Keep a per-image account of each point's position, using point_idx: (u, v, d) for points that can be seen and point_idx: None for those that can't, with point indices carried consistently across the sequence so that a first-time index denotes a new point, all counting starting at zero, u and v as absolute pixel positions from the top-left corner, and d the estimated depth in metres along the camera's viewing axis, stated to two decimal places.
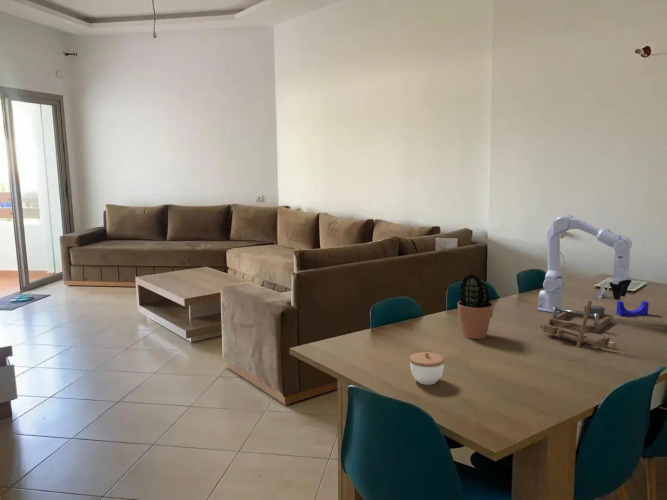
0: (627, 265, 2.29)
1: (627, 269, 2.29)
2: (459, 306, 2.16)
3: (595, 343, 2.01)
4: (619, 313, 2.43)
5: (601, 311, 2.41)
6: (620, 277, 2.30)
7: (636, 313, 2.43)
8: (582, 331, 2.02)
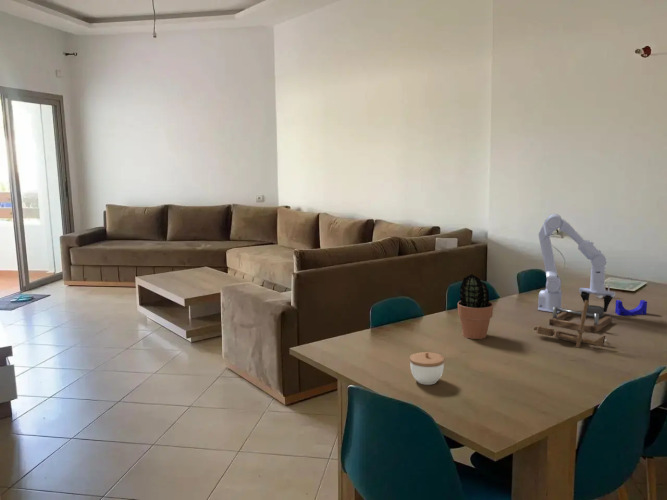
0: (604, 279, 2.42)
1: (593, 283, 2.43)
2: (459, 306, 2.16)
3: (594, 342, 2.02)
4: (618, 312, 2.45)
5: (600, 311, 2.40)
6: (589, 289, 2.46)
7: (635, 312, 2.44)
8: (582, 331, 2.02)
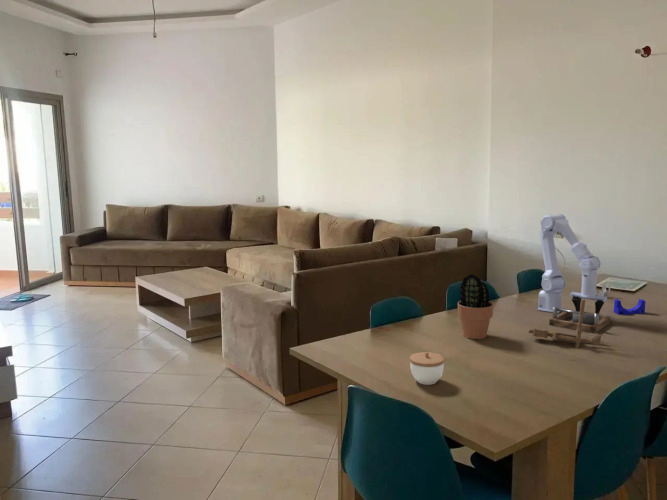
0: (592, 284, 2.34)
1: (584, 287, 2.35)
2: (459, 306, 2.16)
3: (592, 341, 2.03)
4: (616, 311, 2.46)
5: (589, 318, 2.31)
6: (581, 293, 2.39)
7: (633, 311, 2.46)
8: (581, 331, 2.02)
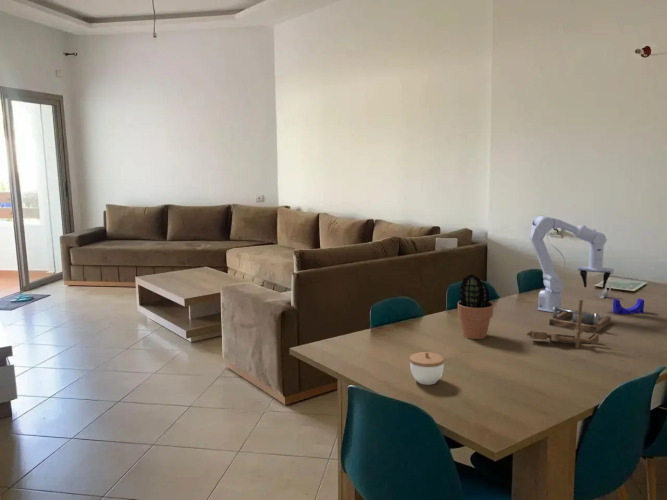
0: (602, 256, 2.48)
1: (592, 261, 2.48)
2: (459, 306, 2.16)
3: (591, 341, 2.04)
4: (615, 311, 2.47)
5: (589, 318, 2.31)
6: (588, 267, 2.51)
7: (632, 311, 2.47)
8: None
